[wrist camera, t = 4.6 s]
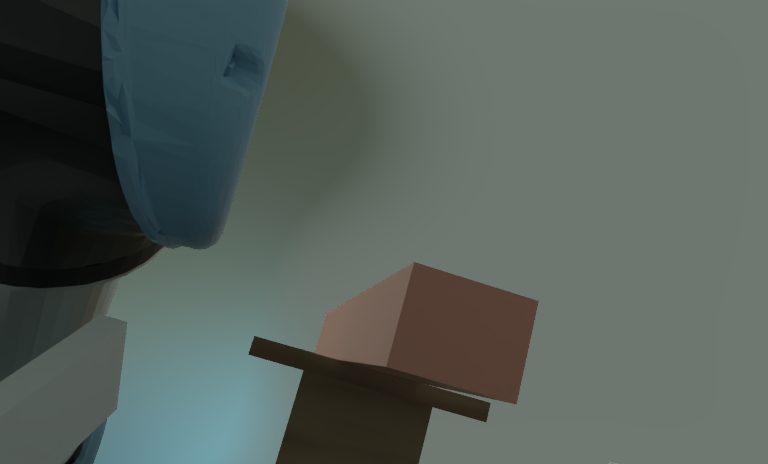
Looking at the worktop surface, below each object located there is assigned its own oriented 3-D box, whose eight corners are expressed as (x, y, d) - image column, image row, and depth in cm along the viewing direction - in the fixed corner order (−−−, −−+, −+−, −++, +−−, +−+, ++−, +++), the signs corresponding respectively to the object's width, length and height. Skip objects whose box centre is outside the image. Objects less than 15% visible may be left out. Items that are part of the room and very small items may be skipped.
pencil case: (516, 404, 20) (538, 301, 21) (386, 366, 19) (414, 262, 20) (367, 371, 49) (378, 329, 49) (313, 356, 48) (326, 313, 49)
